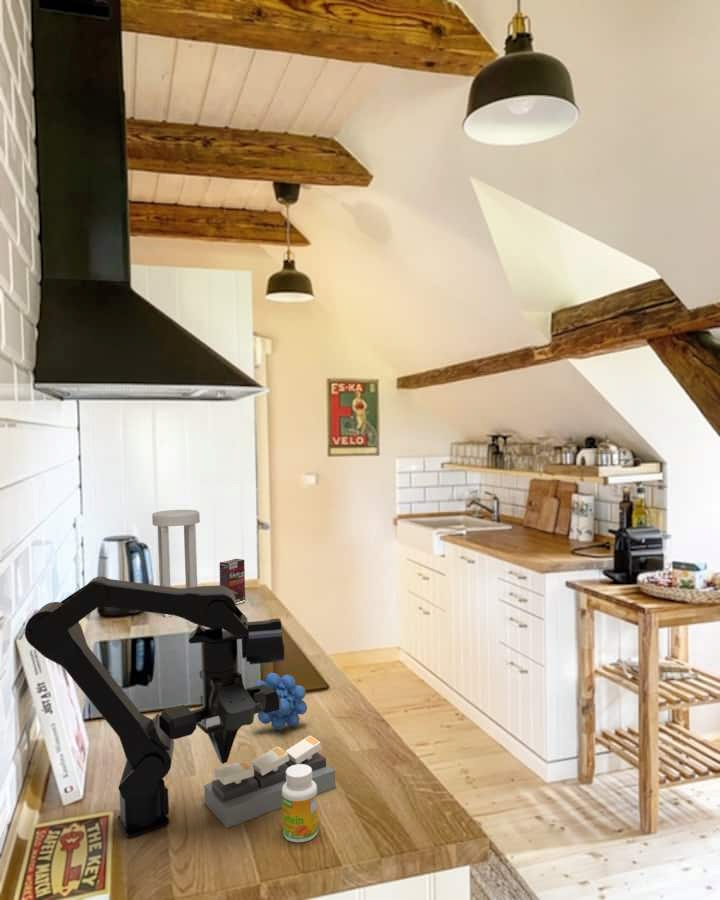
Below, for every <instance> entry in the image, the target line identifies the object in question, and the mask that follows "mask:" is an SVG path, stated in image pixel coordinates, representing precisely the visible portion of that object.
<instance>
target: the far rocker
mask: <svg viewBox="0 0 720 900" xmlns="http://www.w3.org/2000/svg"><path fill="white" fill-rule="evenodd" d="M320 750H323V746H322V743H321V742H320V740H318V739H316V738H315V737H314V736H312V735H308V736H306V737H305V738H303V739H302V740H300V741H299V742H297V743H296V744H294V745H292V746H291V747H290V748H289V747H288V748H287V749H286V750H285V752H286V753H287V754H288V757H289V759H290V760H292V761H293V762H294V763H295V764H300V763H301V762H303V761H304V760H306V759H307V760H309V759H311V758H312V755H313V754H315V753H316V752H318V753H319V751H320Z"/></svg>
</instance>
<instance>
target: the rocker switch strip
mask: <svg viewBox="0 0 720 900" xmlns="http://www.w3.org/2000/svg"><path fill="white" fill-rule="evenodd" d="M300 764H305V765H308V766H310V767H311V768H312V780H313V781H314V782H315V783H316V786H317V795H319V793H320V794H322V793H325V792H328V791H330V790H333V789H335V788H337V787H336V769H334V768H332V767H331V766H330V765H329V764H327V758H326V757H325V756H323V755H322V754H320V753H319V751H318V752H316V753H315V754H313V755H312V758H311V759H309V760H307V759H306V760H304V761H303V762H301V763H300ZM292 765H296V764H295V763H294V762H293V761H292V760H290V759H289V761H287V762H286V763H284V764H282V765H280V766H279V767H278V770H276V771H275V772H274V771H273V770H272V771H270V772H268V773H267V774H265V775H263V776H262V775H261V774H260V773H258V772H257V771H256V770H255V769H254V776H253V777H249V778H246V779H243V780H241V783H238V784H236V783H235V782H232V783H229V784H226V785H224V784H223V783H222V782H221V781H220V780H219V779H218V778H216V779H215V780H211V782H210V783H207V784H204V785H203V787H204V788H203V790H204V792H203V793H204V794H203V795H204V804H205V805H206V806H207V807H208V809H210V812H212V813H213V814H214V815H215V817H216V818H217V819H218V820H219V821H220V822H221V823H222V825H223V826H224V827H225V828H226V829H228V828H232V827H234V826H237V825H240V824H242V823H244V822H247V821H250V820H252V819H255V818H258V817H260V816H263V815H266V814H268V813H271V812H274V811H276V810H279V809H282V787H283V785H284V784H285V783H286V770H287V768H289V767H290V766H292ZM321 792H322V793H321Z"/></svg>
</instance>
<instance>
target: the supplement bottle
mask: <svg viewBox="0 0 720 900" xmlns="http://www.w3.org/2000/svg"><path fill="white" fill-rule="evenodd" d="M281 809H282V813H281V815H282V817H281V818H282V834H283V837H284V838H285V840H287V841H289V842H291V843H292V842H293V843H305V842H308V841H311V840H312V839H314V838H315V837H316V836H317V834H318V832H319V807H318V794H317V786H316V783H315V782H314V781H313V780H312V768H311V767H310V766H308V765H305V764H296V765H292V766H290V767H289V768H287V770H286V783H285V784H284V785H283V787H282V808H281Z"/></svg>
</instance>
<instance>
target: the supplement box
mask: <svg viewBox="0 0 720 900" xmlns="http://www.w3.org/2000/svg"><path fill="white" fill-rule="evenodd" d="M245 571H246V570H245V559H241V558H233V559H229V560H225V561H220V562H219V585H220V586H225V587H227V588H229V589H230V590H231V591H232V593H233V594H234V596H235V600H236V603H237V602H240V601H243V600H245V601H246V584H245V583H246V579H245V578H246V577H245V575H246V574H245Z"/></svg>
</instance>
